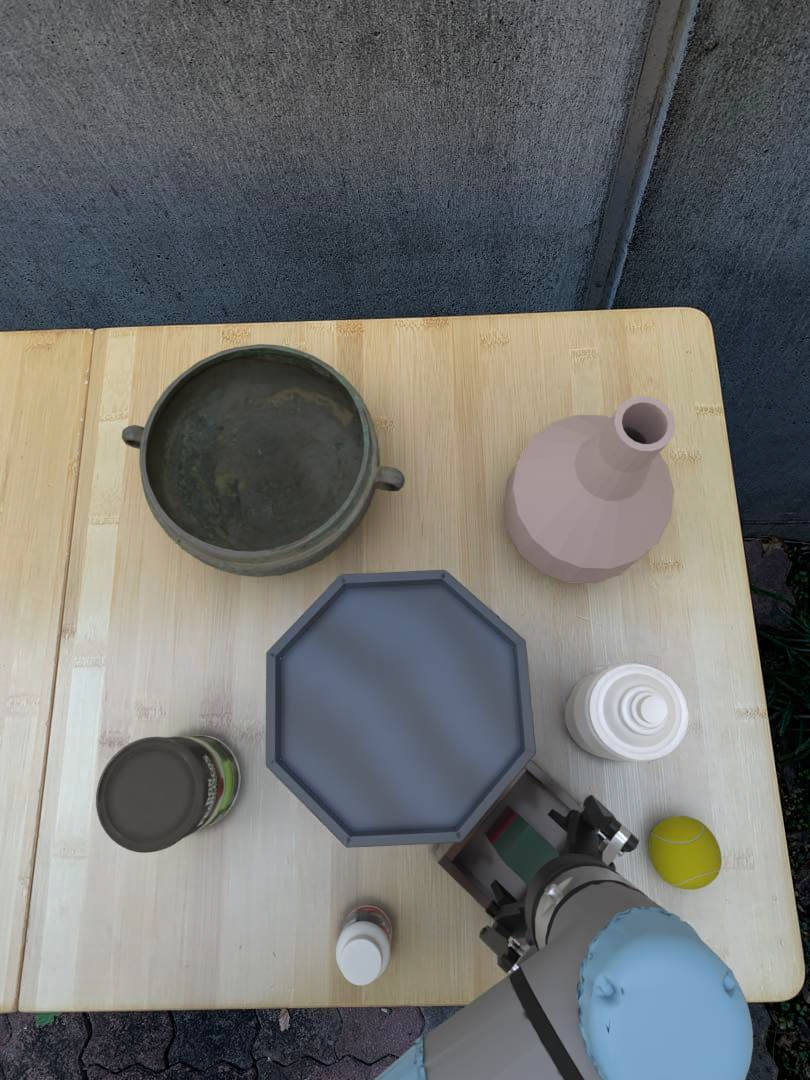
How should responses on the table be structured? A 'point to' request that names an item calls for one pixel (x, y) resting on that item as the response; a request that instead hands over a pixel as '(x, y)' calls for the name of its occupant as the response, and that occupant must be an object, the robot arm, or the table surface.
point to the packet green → (524, 849)
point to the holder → (478, 858)
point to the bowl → (260, 460)
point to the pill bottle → (364, 945)
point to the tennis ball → (685, 852)
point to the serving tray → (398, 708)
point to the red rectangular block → (500, 825)
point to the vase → (592, 492)
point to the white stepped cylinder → (627, 713)
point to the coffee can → (166, 790)
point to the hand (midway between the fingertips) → (532, 856)
